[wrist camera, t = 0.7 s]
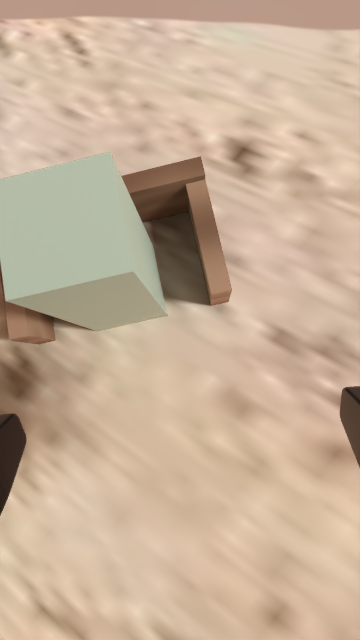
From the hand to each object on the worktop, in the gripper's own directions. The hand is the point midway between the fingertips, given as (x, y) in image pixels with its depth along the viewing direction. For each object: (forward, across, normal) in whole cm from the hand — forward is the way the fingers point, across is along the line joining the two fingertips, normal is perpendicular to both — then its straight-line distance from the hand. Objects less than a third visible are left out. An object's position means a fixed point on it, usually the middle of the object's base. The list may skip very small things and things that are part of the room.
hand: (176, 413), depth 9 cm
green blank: (+15, +4, +1) cm, 15 cm away
